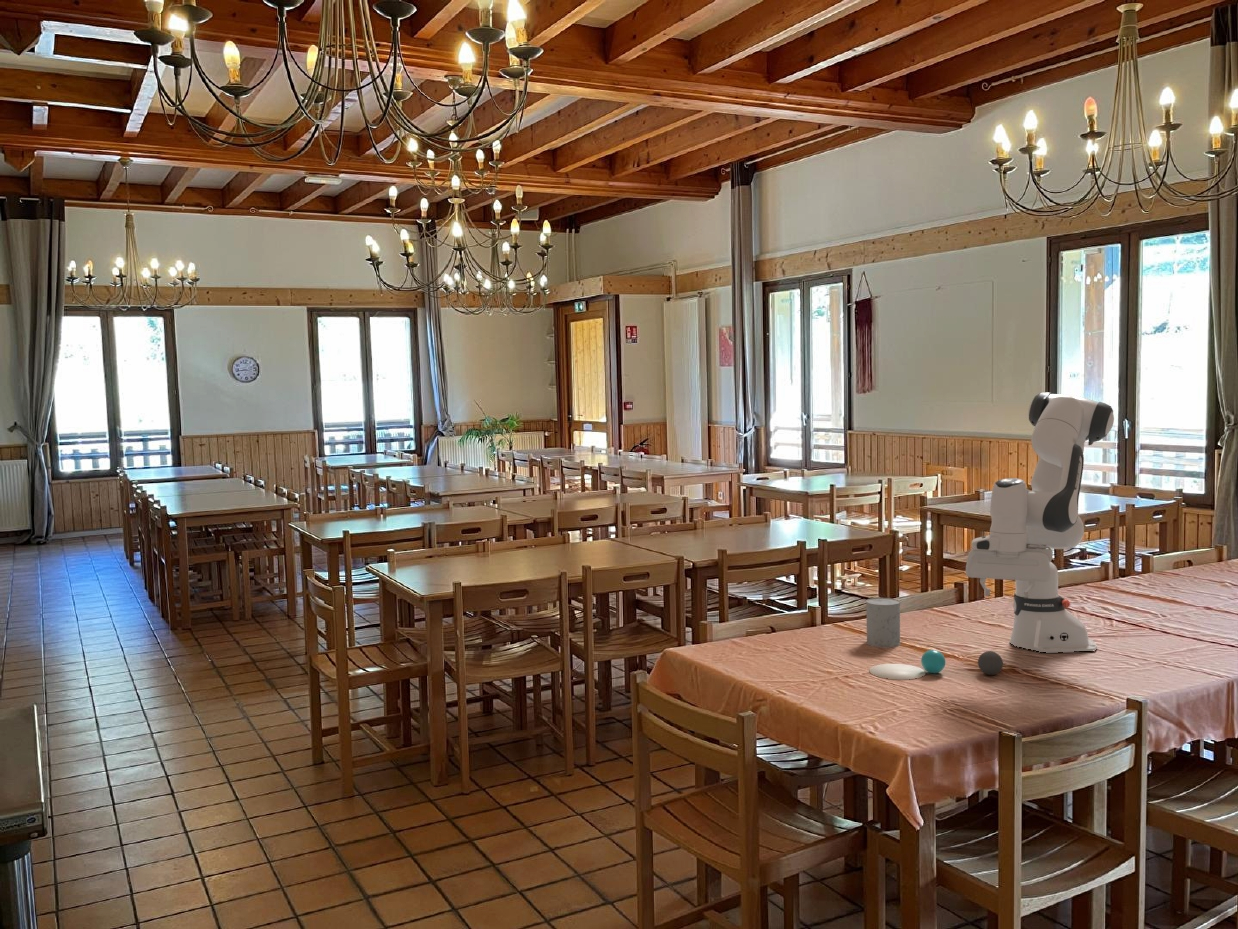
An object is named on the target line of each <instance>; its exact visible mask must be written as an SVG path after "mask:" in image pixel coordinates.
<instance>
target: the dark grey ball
mask: <svg viewBox="0 0 1238 929" xmlns="http://www.w3.org/2000/svg"><path fill="white" fill-rule="evenodd" d="M977 664H978V668H979V670H980V671H981V672H982V673H983V674H985V675H988V676H994V675H997V674H999V673H1000V672H1001V671H1002V669H1003V666H1004V661H1003V659H1002V657H1001V655H1000V654H999V653H997V652H995V651H992V650H989V651H984V652H982V653H981V654H980V655H979V657H978V659H977Z"/></svg>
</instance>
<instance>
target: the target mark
mask: <svg viewBox="0 0 1238 929" xmlns="http://www.w3.org/2000/svg"><path fill="white" fill-rule="evenodd" d="M869 672H870V674H871V675H873V676H874V677H875V676H876V677H878V678H882V679H886V678H888V679H887V680H895V681H896V680H897V681H907V680H909V679H910V680H916V679H915V678H917V679H920V678H923V677H925V675H926V670H925V669H924V668H921V667H919V666H915V665H911V664H904V663H883V664H878V665H876V664H875V665H874V666H871V667H870V668H869ZM922 676H923V677H922Z"/></svg>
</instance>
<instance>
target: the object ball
mask: <svg viewBox="0 0 1238 929" xmlns="http://www.w3.org/2000/svg"><path fill="white" fill-rule="evenodd" d="M920 663H921V667H922V669H923V670H924V671H925V672H928V673H930V674H938V673H940V672H942V671H943V670H944V668H945V667H946V658H945V656H944V654H943V653H942V652H940V651H939V650H937V649H930V650H926V651H925V652H924V653H923V654H922V656H921V658H920Z"/></svg>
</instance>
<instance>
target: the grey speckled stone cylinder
mask: <svg viewBox="0 0 1238 929" xmlns="http://www.w3.org/2000/svg"><path fill="white" fill-rule="evenodd" d="M865 603H866V608H865V609H866V644H867V645H869V646H870V647H875V648H883V647H886V648H887V649H888V648H895V647H899V646H901V601H900V600H899V599H895V598H889V597H873V598H868V599H866V600H865Z"/></svg>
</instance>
